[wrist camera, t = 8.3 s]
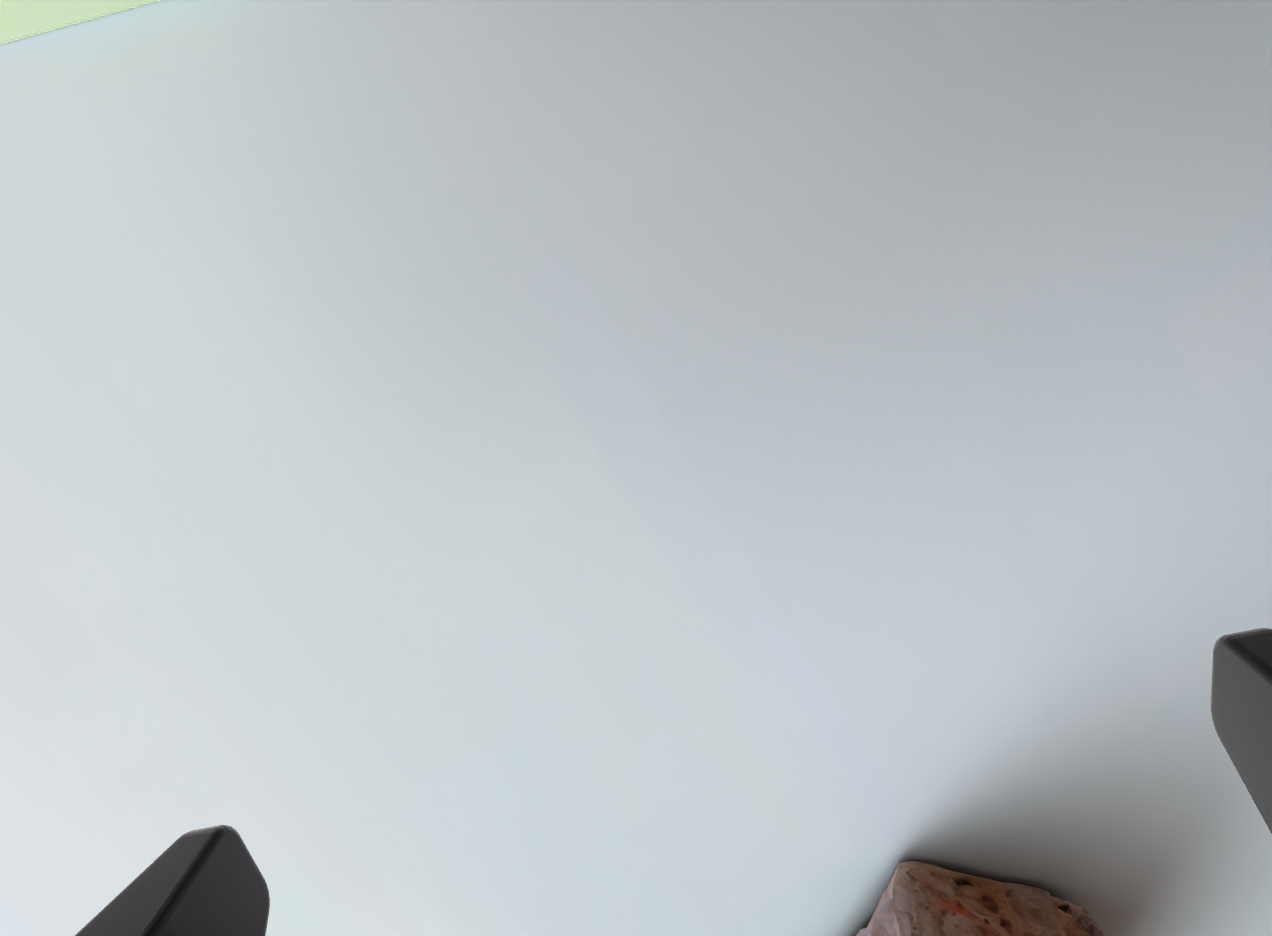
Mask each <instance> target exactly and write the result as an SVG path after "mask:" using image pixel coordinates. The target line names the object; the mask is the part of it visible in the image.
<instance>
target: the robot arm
mask: <svg viewBox="0 0 1272 936" xmlns="http://www.w3.org/2000/svg"><path fill="white" fill-rule="evenodd" d="M1211 712H1212V719H1213V722H1214V726H1215V729H1216V731H1217V734H1218V736H1219V738H1220V740H1221V742H1222V744H1223V745H1224V747H1225V749H1226V751H1227V753H1228V754H1229V756H1230V758H1231V760H1232V762H1233V764H1234V765H1235V767H1236V769H1237V771H1238V773H1239V774H1240V776H1241V778H1242V780H1243V782H1244V784H1245V785H1246V787H1247V789H1248V791H1249V793H1250V795H1251V796H1252V798H1253V800H1254V802H1255V804H1256V805H1257V807H1258V809H1259V811H1260V813H1261V815H1262V816H1263V818H1264V820H1265V822H1266V824H1267V825H1268V827H1269V829H1270V831H1271V833H1272V629H1267V628H1262V629H1254V630H1249V631H1244V632H1239V633H1233V634H1228V635H1224V636H1222V637H1221V638H1219V639H1218V640H1217V641H1216V643H1215V646H1214V651H1213V670H1212V696H1211ZM269 906H270V899H269V891H268V888H267V884H266V882H265V879H264V878H263V876H262V874H261V872H260V871H259V869H258V867H257V865H256V863H255V862H254V860H253V858H252V856H251V855H250V853H249V851H248V849H247V848H246V846H245V844H244V842H243V841H242V839H241V837H240V835H239V834H238V832H237V831H236V830H235V829H233V828H232V827H230V826H226V825H219V826H214V827H209V828H204V829H198V830H193V831H190V832H188V833H186V834H184V835H182V836H181V837H180V838H179V839H178V840H177V841H175V842H174V843H173V844H172V845H171V846H170V847H169V848H168V849H167V850H166V851H165V852H164V853H163V854H162V855H161V856H159V857H158V858H157V859H156V860H155V861H154V862H153V863H152V864H151V865H150V866H149V867H148V868H147V869H146V870H145V871H143V872H142V873H141V874H140V875H139V876H138V877H137V878H136V879H135V880H134V881H133V882H132V883H131V884H130V885H129V886H127V887H126V888H125V889H124V890H123V891H122V892H121V893H120V894H119V895H118V896H117V897H116V898H115V899H114V900H113V901H111V902H110V903H109V904H108V905H107V906H106V907H105V908H104V909H103V910H102V911H101V912H100V913H99V914H98V915H97V916H95V917H94V918H93V919H92V920H91V921H90V922H89V923H88V924H87V925H86V926H85V927H84V928H83V929H82V930H81V931H79V932H78V933H77V934H76V935H75V936H265V934H266V928H267V922H268V915H269Z"/></svg>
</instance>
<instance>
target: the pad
mask: <svg viewBox="0 0 1272 936" xmlns="http://www.w3.org/2000/svg"><path fill="white" fill-rule="evenodd" d="M157 1H161V0H0V45H1V44H5V43H9V42H12V41H16V40H20V39H23V38H27V37H30V36H34V35H38V34H41V33H45V32H48V31H52V30H56V29H59V28H63V27H67V26H70V25H74V24H77V23H81V22H85V21H88V20H92V19H96V18H99V17H103V16H106V15H110V14H114V13H117V12H121V11H125V10H128V9H132V8H135V7H139V6H143V5H146V4H150V3H153V2H157Z"/></svg>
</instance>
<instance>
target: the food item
mask: <svg viewBox="0 0 1272 936" xmlns="http://www.w3.org/2000/svg"><path fill="white" fill-rule="evenodd" d="M1086 917H1087V919H1085V918H1086ZM856 936H1103V933H1102V932H1101V930H1100V929H1099V928H1098V926H1097V925H1096V923H1095V922H1094V921H1093V919H1092V918H1091V917H1090V915H1089V914H1088V913H1087V911H1086V910H1085V909H1084V907H1081V906H1079V905H1077V904H1074V903H1072V902H1070V901H1068V900H1064V899H1060V898H1056V897H1052V896H1051V895H1050V893H1049V892H1048V891H1046V890H1043V889H1040V888H1037V887H1033V886H1028V885H1024V884H1014V883H1003V882H999V881H995V880H991V879H987V878H982V877H978V876H973V875H969V874H964V873H960V872H955V871H950V870H947V869H944V868H942V867H939V866H937V865H934V864H929V863H924V862H919V861H907V862H900V863H899V864H898V866H897V868H896V870H895V872H894V874H893V876H892V878H891V880H890V882H889V884H888V887H887V889H886V891H885V892H884V893H883V894H882V896H881V898H880V901H879V903H878V905H877V907H876V910H875V912H874V914H873V916H872V918H871V920H870V922H869V924H868V926H867V928H863V929H860V931H859V932H858V934H857V935H856Z"/></svg>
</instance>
